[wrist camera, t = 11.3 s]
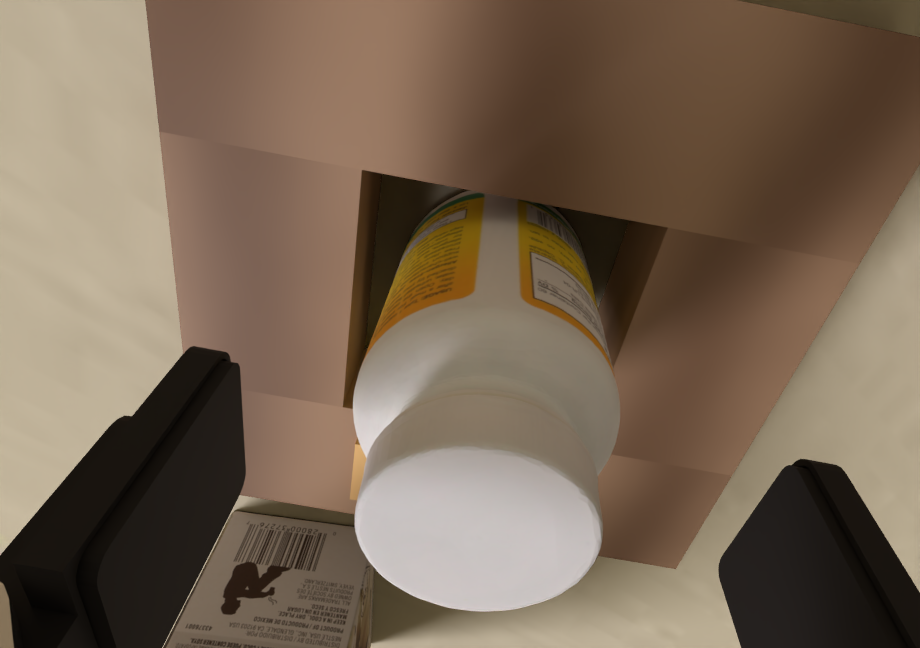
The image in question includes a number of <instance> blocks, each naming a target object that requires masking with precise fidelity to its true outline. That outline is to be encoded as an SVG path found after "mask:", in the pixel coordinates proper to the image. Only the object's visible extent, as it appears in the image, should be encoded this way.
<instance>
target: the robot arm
mask: <svg viewBox="0 0 920 648" xmlns="http://www.w3.org/2000/svg"><path fill="white" fill-rule="evenodd" d="M245 476H246V464H245V446H244V428H243V410H242V393H241V375H240V366H239V364H238V363H235V362H231V359H230V356H229V354H228V353H227V352H223V351H218V350H213V349H207V348H202V347H196V346H192V347H189V348H188V349H187V350H186V351H185V352H184V354H183V355H182V356H181V357H180V359H179V360H178V361H177V362H176V363H175V365H174V366H173V367H172V368H171V370H170V371H169V372H168V373H167V374H166V376H165V377H164V378H163V379H162V381H161V382H160V383H159V384H158V385H157V387H156V388H155V389H154V390H153V392H152V393H151V394H150V395H149V396H148V398H147V399H146V400H145V401H144V403H143V404H142V405H141V406H140V407H139V409H138V410H137V411H136V412H135V414H134V415H133V416H123V417H121V418H119V419H117V420H116V421H115V422H114V423H113V424H112V425H111V426H110V427H109V428H108V429H107V430H106V431H105V433H104V434H103V435H102V436H101V437H100V438H99V440H98V441H97V442H96V443H95V444H94V446H93V447H92V448H91V449H90V450H89V451H88V453H87V454H86V455H85V456H84V457H83V458H82V460H81V461H80V462H79V463H78V464H77V466H76V467H75V468H74V469H73V470H72V471H71V473H70V474H69V475H68V476H67V477H66V479H65V480H64V481H63V482H62V483H61V484H60V486H59V487H58V488H57V489H56V490H55V492H54V493H53V494H52V495H51V496H50V497H49V499H48V500H47V501H46V502H45V503H44V504H43V506H42V507H41V508H40V509H39V510H38V512H37V513H36V514H35V515H34V516H33V517H32V519H31V520H30V521H29V522H28V523H27V525H26V526H25V527H24V528H23V529H22V530H21V532H20V533H19V534H18V535H17V536H16V537H15V539H14V540H13V541H12V542H11V543H10V545H9V546H8V547H7V548H6V549H5V550H4V552H3V553H2V554H1V555H0V648H162V647H163V645H164V643H165V641H166V639H167V637H168V635H169V633H170V631H171V629H172V627H173V625H174V623H175V621H176V619H177V617H178V615H179V613H180V611H181V609H182V607H183V605H184V603H185V601H186V599H187V597H188V595H189V593H190V591H191V590H192V588H193V586H194V584H195V582H196V580H197V578H198V576H199V574H200V572H201V570H202V568H203V566H204V564H205V562H206V560H207V558H208V556H209V554H210V552H211V550H212V548H213V546H214V544H215V542H216V540H217V538H218V536H219V534H220V532H221V530H222V528H223V526H224V524H225V522H226V521H227V519H228V517H229V515H230V513H231V511H232V509H233V507H234V505H235V503H236V501H237V499H238V497H239V495H240V493H241V490H242V488H243V485H244V481H245ZM719 578H720V582H721V585H722V588H723V591H724V594H725V598H726V601H727V604H728V607H729V610H730V613H731V617H732V620H733V623H734V626H735V629H736V632H737V636H738V639H739V642H740V645H741V648H920V592H919V591H918V589H917V588H916V586H915V584H914V583H913V581H912V580H911V578H910V576H909V575H908V573H907V571H906V570H905V568H904V567H903V565H902V563H901V562H900V560H899V558H898V557H897V555H896V554H895V552H894V550H893V549H892V547H891V546H890V544H889V542H888V541H887V539H886V537H885V536H884V534H883V533H882V531H881V529H880V528H879V526H878V525H877V523H876V521H875V520H874V518H873V516H872V515H871V513H870V512H869V510H868V508H867V507H866V505H865V504H864V502H863V500H862V499H861V497H860V495H859V494H858V492H857V491H856V489H855V487H854V486H853V484H852V483H851V481H850V479H849V478H848V476H847V474H846V473H845V472H844V471H843V469H842V468H841V467H839V466H837V465H833V464H828V463H822V462H817V461H812V460H806V459H800V460H797V461H796V462H795V463H794V464H793V465H792V466H791V465H788V466H786V467H785V468H784V469H783V470H782V471H781V472H780V474H779V475H778V477H777V478H776V480H775V481H774V482H773V484H772V485H771V487H770V488H769V490H768V491H767V492H766V494H765V495H764V497H763V498H762V500H761V501H760V502H759V504H758V505H757V507H756V508H755V510H754V511H753V513H752V514H751V515H750V517H749V518H748V520H747V521H746V523H745V524H744V525H743V527H742V528H741V530H740V531H739V533H738V534H737V535H736V537H735V538H734V540H733V541H732V543H731V544H730V546H729V547H728V548H727V550H726V551H725V553H724V554H723V556H722V557H721V559H720V563H719Z"/></svg>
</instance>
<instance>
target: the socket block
mask: <svg viewBox="0 0 920 648" xmlns="http://www.w3.org/2000/svg"><path fill="white" fill-rule="evenodd" d="M145 2H146V11H147V20H148V30H149V39H150V48H151V58H152V67H153V76H154V86H155V95H156V104H157V114H158V123H159V132H160V142H161V151H162V160H163V170H164V179H165V188H166V198H167V207H168V216H169V226H170V235H171V244H172V254H173V263H174V272H175V282H176V291H177V300H178V310H179V319H180V328H181V338H182V347H183V354H184V352H185V351H186V350H187V349H188V348H189V347H192V346H196V347H202V348H207V349H213V350H218V351H223V352H227V353H228V354H229V356H230V359H231V362H235V363H238V364H239V366H240V375H241V393H242V410H243V428H244V446H245V464H246V476H245V481H244V485H243V488H242V490H241V493H240V495H244V496H249V497H255V498H261V499H267V500H273V501H279V502H285V503H291V504H296V505H302V506H308V507H314V508H320V509H326V510H332V511H338V512H344V513H349V514H355V508H356V503H357V499H358V494H359V490H360V486H361V483H362V479H363V475H364V467H365V463H366V459H367V458H366V456H365V454H364V452H363V450H362V448H361V445H360V443H359V440H358V437H357V434H356V430H355V425H354V418H353V396H354V390H355V385H356V381H357V378H358V374H359V371H360V368H361V365H362V363H363V360H364V357H365V355H366V352H367V349H365V340H366V330H367V320H368V310H369V299H370V289H371V279H372V269H373V259H374V249H375V239H376V229H377V219H378V209H379V199H380V189H381V179H382V174H387V175H392V176H397V177H403V178H408V179H413V180H419V181H424V182H429V183H434V184H440V185H445V186H450V187H456V188H461V189H466V190H472V191H477V192H482V193H487V194H493V195H498V196H503V197H509V198H514V199H519V200H525V201H530V202H535V203H540V204H546V205H551V206H556V207H562V208H567V209H572V210H577V211H583V212H588V213H593V214H599V215H604V216H609V217H615V218H620V219H625V220H629V223H628V226H627V229H626V232H625V234H624V237H623V240H622V243H621V246H620V249H619V252H618V255H617V257H616V260H615V263H614V266H613V269H612V272H611V275H610V277H609V280H608V283H607V286H606V289H605V292H604V295H603V298H602V300H601V303H600V306H599V309H598V312H599V316H600V319H601V323H602V326H603V331H604V335H605V339H606V343H607V347H608V351H609V355H610V359H611V363H612V367H613V370H614V374H615V380H616V384H617V389H618V393H619V401H620V424H619V430H618V435H617V439H616V443H615V446H614V448H613V451H612V453H611V456H610V458H609V460H608V461H607V463H606V465H605V466H604V468H603V469H602V471H601V472H600V474H599V475H598V493H599V501H600V508H601V514H602V521H603V537H602V543H601V548H600V551H599V554H598V556H603V557H609V558H614V559H620V560H626V561H632V562H638V563H644V564H650V565H656V566H662V567H667V568H673V569H676V568H677V566H678V564H679V563H680V561H681V559H682V558H683V556H684V554H685V553H686V551H687V549H688V548H689V546H690V544H691V543H692V541H693V539H694V538H695V536H696V534H697V533H698V531H699V529H700V528H701V526H702V524H703V523H704V521H705V519H706V518H707V516H708V514H709V513H710V511H711V509H712V508H713V506H714V505H715V503H716V501H717V500H718V498H719V496H720V495H721V493H722V491H723V490H724V488H725V486H726V485H727V483H728V481H729V480H730V478H731V476H732V475H733V473H734V471H735V470H736V468H737V466H738V465H739V463H740V461H741V460H742V458H743V456H744V455H745V453H746V451H747V450H748V448H749V446H750V445H751V443H752V441H753V440H754V438H755V436H756V435H757V433H758V431H759V430H760V428H761V426H762V425H763V423H764V421H765V420H766V418H767V417H768V415H769V413H770V412H771V410H772V408H773V407H774V405H775V403H776V402H777V400H778V398H779V397H780V395H781V393H782V392H783V390H784V388H785V387H786V385H787V383H788V382H789V380H790V378H791V377H792V375H793V373H794V372H795V370H796V368H797V367H798V365H799V363H800V362H801V360H802V358H803V357H804V355H805V353H806V352H807V350H808V348H809V347H810V345H811V343H812V342H813V340H814V338H815V337H816V335H817V333H818V332H819V330H820V329H821V327H822V325H823V324H824V322H825V320H826V319H827V317H828V315H829V314H830V312H831V310H832V309H833V307H834V305H835V304H836V302H837V300H838V299H839V297H840V295H841V294H842V292H843V290H844V289H845V287H846V285H847V284H848V282H849V280H850V279H851V277H852V275H853V274H854V272H855V270H856V269H857V267H858V265H859V264H860V262H861V260H862V259H863V257H864V255H865V254H866V252H867V250H868V249H869V247H870V246H871V244H872V242H873V241H874V239H875V237H876V236H877V234H878V232H879V231H880V229H881V227H882V226H883V224H884V222H885V221H886V219H887V217H888V216H889V214H890V212H891V211H892V209H893V207H894V206H895V204H896V202H897V201H898V199H899V197H900V196H901V194H902V192H903V191H904V189H905V187H906V186H907V184H908V182H909V181H910V179H911V177H912V176H913V174H914V172H915V171H916V169H917V167H918V166H919V164H920V37H917V36H912V35H907V34H902V33H897V32H892V31H887V30H882V29H877V28H872V27H867V26H862V25H857V24H852V23H847V22H843V21H838V20H833V19H828V18H823V17H818V16H813V15H808V14H803V13H798V12H793V11H788V10H783V9H778V8H773V7H768V6H763V5H759V4H754V3H749V2H744V1H739V0H145Z"/></svg>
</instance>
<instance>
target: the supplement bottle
mask: <svg viewBox="0 0 920 648" xmlns="http://www.w3.org/2000/svg"><path fill="white" fill-rule="evenodd" d="M353 418H354V425H355V430H356V434H357V437H358V440H359V443H360V445H361V448H362V450H363V452H364V454H365V456H366V458H367V459H366V463H365V467H364V475H363V479H362V483H361V486H360V490H359V494H358V499H357V503H356V508H355V532H356V535H357V539H358V542H359V545H360V547H361V549H362V551H363V553H364V554H365V556H366V558H367V559H368V561H369V562H370V563H371V564H372V566H373V567H374V568H375V569H376V570H377V572H378V573H379V574H380V575H382V576H383V577H384V578H385V579H386V580H388V581H389V582H390V583H392V584H393V585H395V586H396V587H398V588H400V589H401V590H403V591H405V592H407V593H408V594H410V595H412V596H415V597H417V598H419V599H422V600H425V601H428V602H431V603H434V604H437V605H440V606H444V607H448V608H453V609H460V610H468V611H484V612H488V611H506V610H512V609H519V608H523V607H527V606H530V605H534V604H537V603H541V602H544V601H546V600H549V599H551V598H554V597H556V596H558V595H560V594H561V593H563V592H565V591H566V590H568V589H569V588H570V587H572V586H573V585H575V584H577V583H578V582H579V580H580V579H581V578H582V577H583V576H584V575H585V574H586V573H587V572H588V570H589V569H590V568H591V567H592V565H593V563H594V562H595V560H596V558H597V556H598V554H599V551H600V548H601V543H602V537H603V521H602V514H601V508H600V501H599V493H598V475H599V474H600V472H601V471H602V469H603V468H604V466H605V465H606V463H607V461H608V460H609V458H610V456H611V453H612V451H613V448H614V446H615V443H616V439H617V435H618V430H619V424H620V401H619V393H618V389H617V384H616V380H615V374H614V370H613V367H612V363H611V359H610V355H609V351H608V347H607V343H606V339H605V335H604V331H603V326H602V323H601V319H600V316H599V312H598V307H597V303H596V300H595V295H594V291H593V286H592V282H591V278H590V274H589V270H588V266H587V262H586V259H585V255H584V252H583V249H582V246H581V243H580V241H579V239H578V237H577V235H576V233H575V231H574V230H573V228H572V227H571V225H570V224H569V223H568V222H567V220H566V219H565V218H564V217H563V216H562V215H561V214H560V213H559V212H558V211H557V210H556V209H555V208H553V207H552V206H551V205H546V204H540V203H535V202H530V201H525V200H519V199H514V198H509V197H503V196H498V195H493V194H487V193H482V192H477V191H472V190H469V191H466V192H463V193H460V194H458V195H456V196H454V197H452V198H450V199H449V200H447V201H445V202H443V203H442V204H440V205H439V206H438V207H436V208H435V209H433V210H432V211H431V212H430V213H429V214H428V215H427V216H426V217H425V218H424V219H423V220H422V221H421V222H420V223H419V224H418V226H417V227H416V228H415V230H414V232H413V233H412V235H411V237H410V239H409V241H408V243H407V245H406V247H405V249H404V252H403V256H402V258H401V261H400V264H399V267H398V269H397V272H396V275H395V278H394V281H393V284H392V286H391V289H390V291H389V294H388V297H387V299H386V302H385V305H384V307H383V310H382V313H381V315H380V318H379V321H378V323H377V326H376V328H375V331H374V334H373V336H372V339H371V341H370V344H369V347H368V349H367V352H366V355H365V357H364V360H363V363H362V365H361V368H360V371H359V374H358V378H357V381H356V385H355V390H354V396H353Z"/></svg>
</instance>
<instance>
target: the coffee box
mask: <svg viewBox="0 0 920 648" xmlns="http://www.w3.org/2000/svg"><path fill="white" fill-rule="evenodd" d="M373 587H374V567H373V566H372V564H371V563H370V562H369V561H368V559H367V558H366V556H365V554H364V553H363V551H362V549H361V547H360V545H359V542H358V539H357V535H356V532H355V527H351V526H344V525H336V524H328V523H321V522H313V521H306V520H298V519H290V518H283V517H277V516H269V515H261V514H254V513H247V512H239V511H235V512H233V513H232V514H231V516H230V518H229V519H228V521H227V523H226V525H225V527H224V529H223V531H222V533H221V535H220V537H219V539H218V541H217V544H216V546H215V548H214V550H213V551H212V553H211V555H210V557H209V559H208V561H207V563H206V565H205V567H204V569H203V571H202V573H201V575H200V577H199V579H198V581H197V583H196V585H195V587H194V589H193V591H192V592H191V594H190V596H189V598H188V600H187V602H186V604H185V606H184V608H183V610H182V612H181V614H180V616H179V618H178V620H177V621H176V624H175V626H174V628H173V630H172V632H171V634H170V635H169V637H168V639H167V641H166V643H165V645H164V647H163V648H370V646H371V633H372V607H373Z"/></svg>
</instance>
